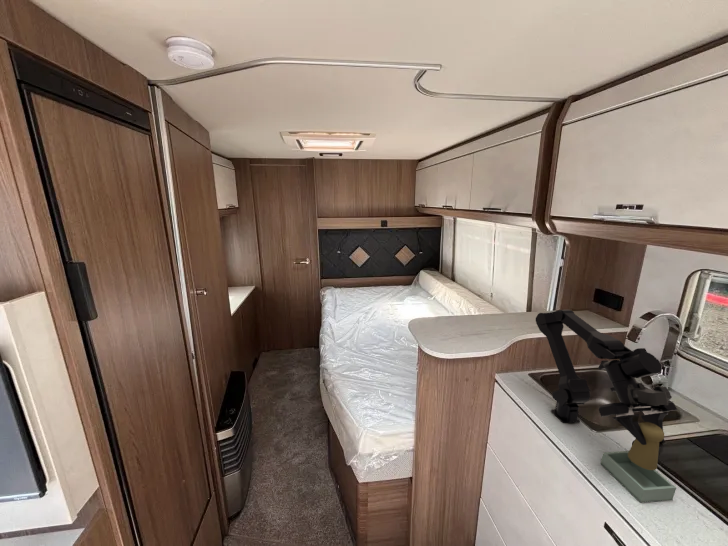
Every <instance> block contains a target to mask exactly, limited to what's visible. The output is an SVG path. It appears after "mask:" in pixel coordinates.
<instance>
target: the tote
mask: <svg viewBox="0 0 728 546" xmlns="http://www.w3.org/2000/svg"><path fill="white" fill-rule="evenodd" d="M628 452H629V450H623V451H622V450H621V451H619V450H618V451H605V452H604V451H603V453H602V455H601V461H600V466H602V468H604V469H605V470H606V471H607V472H608V473H609V474H610V475H611V476H612V477H613V478H614V479H615V480H616V481H617V482H618V483H619V484H620V485H622V487H623V488H624V489H625V490H626V491H628V492H629V494H630V495H631V496H633V498H634V499H636V501H638V503H640V504H642V503H646V504H647V503H654V502H666V501H667V502H670V501H673V499H674V496H675V493H676V491H677V487H676V486H675V485H674V484H673V483H672V482H671V481H669V480H667V478H665V477H664V476H663V475H662V474H661V473H660V472H659V471H657V469H656V470H648V469H644V468H642V467H640V466H638V465H636V464H635V463H633V462H632V461H631V460H630V459H629V457H628Z"/></svg>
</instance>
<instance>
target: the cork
mask: <svg viewBox="0 0 728 546" xmlns="http://www.w3.org/2000/svg"><path fill="white" fill-rule="evenodd" d="M638 423H639V426H640V428H641V430H642V433H643V435H644V437H645V440H646V443H647V444H646V445H642V444H641V443H640V442H639V441H638V440H637V439H636V438H634V439H635V440H634V442H632V445H631V447H630V448H629V450H628V451H629V452H628V457H629V459H630V460H631V461H632V462H633V463H635V464H636V465H638V466H640V467H642V468H644V469H648V470H656V471H657V469H658V461H659V460H658V459H659V452H660V451H659V450H660V443H659V442H661V441H662V440H663V439H664V440H665V431H664V429H663V430H662V429H661V428H660V427H658V426H657V425H655V424H653V423H650V422H644V421H641V422H638Z"/></svg>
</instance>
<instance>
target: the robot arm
mask: <svg viewBox="0 0 728 546" xmlns="http://www.w3.org/2000/svg"><path fill="white" fill-rule="evenodd" d="M535 324H536V326H537V328H538V329H539V331H540V333H542V334H543V335H544V337H546V338H547V342H548V345H549V348H550V350H551V352H552V353H551V354H552V356H553V359H554V362H555V365H556V367H557V371H558V374H559V380H558V385H557V386H558V390H555V391H552V395H551V396H552V399H553V400H555V401H556V402H555V408H552V409H550V411H551V412H552V414H553V415H554V416H555V417H556V418H557V419H559V421H560V422H561V423H563V424H569V423H580V422H581V420H580V419H579V418H578V416H579V409H580V405H583V406H584V405H585V404H586V403H588V402H589V401H590V399H591V389H590V387H589V385H588V382H587V380H586V378H581V377H580V376H579V375H578V374H577V373H576V369H575V367H574V365H573V364H574V363H573V360H572V359H571V356H570V353H569V350H568V348H567V345H566V342H565V339H564V336H563V334H562V333H563V331H564V325H565V326H566V327H567V328H569V330H571V331H572V332H573V333H575V334H576V335H577V336H578V337H579V338H581V339H582V340H583V341H584V342H585V343H586V345H587V349H588V350H589V351H590V352H591V353H592V354H593V355H594V357H596V358H597V359H600V360H601V361H600V364H599V365H598V370H600V371H601V370H605V372H606V374H607V376H608V379H609V380H610V383H611V385H612V387H610V391H611V392H612V393H613V392H615V394H616V396H617V398H618V401H619V402H611V403H606V404H600V405H599V407H598V412H599V415H600V417H601V418H602V417H603V418H605V417H611V416H613V417H612V419H613V420H614V421H617V422H618V424H620V425H621V426H622V427H623V428H625V429H626V431H628V432H629V433H630V434H631V436H633V437H634V439H637V440H638V441H639V442H640V443H641V444H642V445H646V444H647V443H646V440H645V437H644V435H643V433H642V430H641V428H640V426H639V423H640V422H639V417H641V419H642V420H643V422H650V423H653V424H655V425H657V426H658V427H660V428H661V429H662V430H663V431H664V425H663V423H664V418H665V417H666V416H667V415H669V412H672V411H678V408H677V406H676V404H675V403H674V402H673V401H671V399H672V397H673V396H672V395H671V392H670V391H669V390H668V388H667V386H661V385H658V386H657V385H656V386H654V388H653V389H651V388H646V387H645V385H644V384H643V383H642V382H638V381H637V379H641V378H644V377H647V376H652V375H655V374H659V373H661V371H662V364H661V361H660V360H659V359H658V358H657V357H655V355H653V353H650V352H648V351H647V349H646V348H645V347H642V348H636V349H634V350H632V349H630V348H628V347H627V346H625V344H624V343H623V342H622V341H621V340H619V339H618V338H616V337H614V336H612V335H609V334H607V333H603V332H601V331H599V330H597V329H596V328H594V326H592V325H591V324H589V323H588V322H586V321H585V320H584V319H583V318H581V317H579V315H577V314H576V313H575V312H574V311H573V310H572V309H559V310H555V311H551V312H539V313H537V316H536V317H535ZM604 359H605V360H604ZM606 359H607V360H606ZM638 412H639V413H641V412H642V414H641V415H639V413H638ZM635 413H637V414H635ZM659 444H665V438H664V439H663V440H662V441H661V442H659Z"/></svg>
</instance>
